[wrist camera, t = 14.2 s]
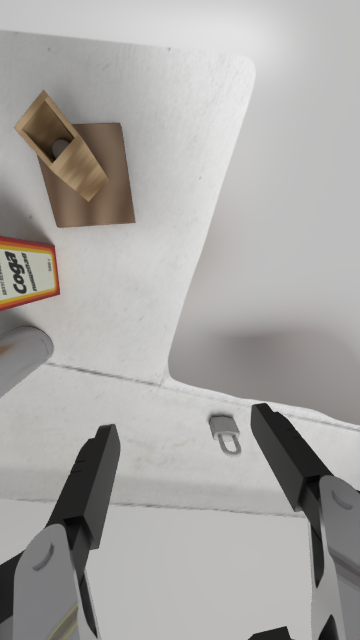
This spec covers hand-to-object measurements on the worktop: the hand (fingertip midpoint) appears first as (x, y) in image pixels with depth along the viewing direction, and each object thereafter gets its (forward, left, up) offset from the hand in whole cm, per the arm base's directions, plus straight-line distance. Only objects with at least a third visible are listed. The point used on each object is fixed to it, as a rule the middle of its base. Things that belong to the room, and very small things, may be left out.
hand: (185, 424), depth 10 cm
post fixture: (-12, +24, -30) cm, 40 cm away
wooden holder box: (-12, +24, -29) cm, 39 cm away
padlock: (+12, -37, -30) cm, 49 cm away
